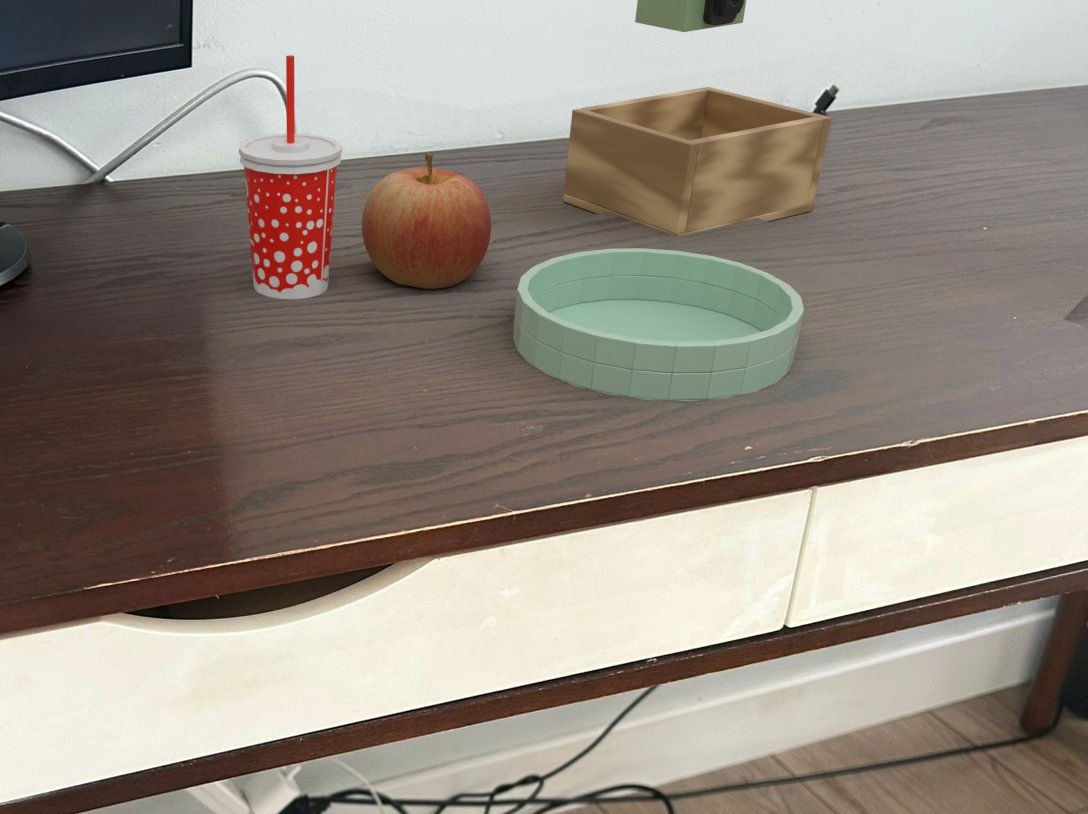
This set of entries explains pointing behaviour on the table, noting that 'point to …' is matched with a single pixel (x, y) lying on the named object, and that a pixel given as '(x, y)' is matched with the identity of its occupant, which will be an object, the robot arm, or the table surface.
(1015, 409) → the table surface
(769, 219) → the box
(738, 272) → the bowl
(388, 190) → the apple
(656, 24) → the green rectangular block
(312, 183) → the beverage cup
